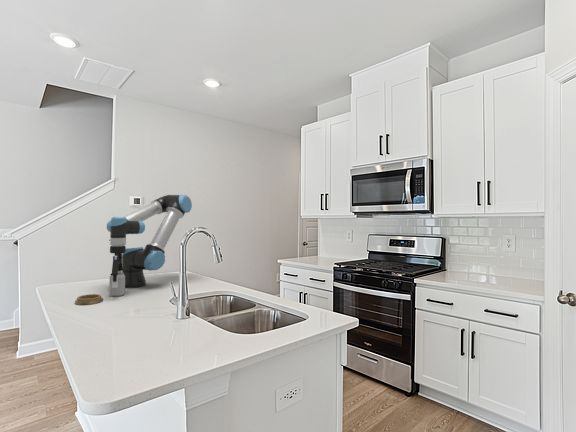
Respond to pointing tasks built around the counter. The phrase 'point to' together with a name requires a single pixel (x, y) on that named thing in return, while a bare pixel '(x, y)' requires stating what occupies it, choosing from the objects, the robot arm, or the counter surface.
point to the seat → (88, 299)
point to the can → (121, 286)
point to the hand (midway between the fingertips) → (116, 285)
